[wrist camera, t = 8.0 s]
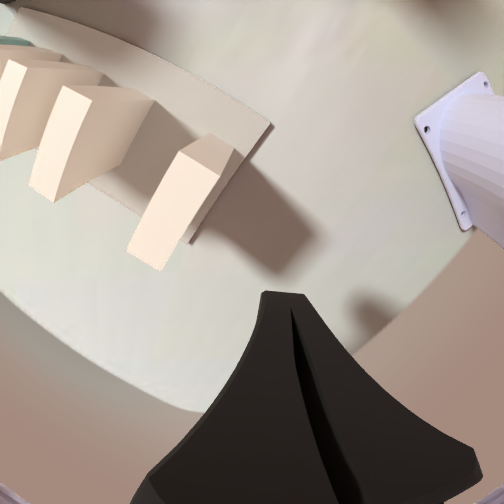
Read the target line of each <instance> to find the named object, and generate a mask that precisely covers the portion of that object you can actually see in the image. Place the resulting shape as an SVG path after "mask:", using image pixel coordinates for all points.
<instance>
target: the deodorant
mask: <svg viewBox="0 0 504 504" xmlns="http://www.w3.org/2000/svg"><path fill="white" fill-rule="evenodd" d="M13 1H15V0H0V3H3V4H8V3H11V2H13Z"/></svg>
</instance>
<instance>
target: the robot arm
mask: <svg viewBox="0 0 504 504" xmlns="http://www.w3.org/2000/svg"><path fill="white" fill-rule="evenodd" d="M484 83H485V86H484ZM414 121H415V126H416V128H417V130H418V132H419V134H420V135H421V137H422V139H423V141H424V143H425V145H426V147H427V149H428V151H429V153H430V155H431V157H432V159H433V161H434V163H435V166H436V168H437V170H438V172H439V174H440V177H441V179H442V181H443V184H444V186H445V188H446V191H447V193H448V196H449V198H450V201H451V203H452V206H453V209H454V211H455V214H456V217H457V220H458V222H459V225H460V227H461V229H463V230H467V229H469V228H470V227H471V226H472V225H474V226H475V227H477V228H478V229H479V230H481V231H482V232H483V233H485V234H486V235H487V236H489V237H490V238H491V239H492V240H494V241H495V242H496V243H497V244H499V245H500V246H501V247H502V248H503V249H504V96H499V95H494V92H493V90H492V88H491V85H490V83H489V81H488V79H487V77H486V75H485V74H484V73H483V72H477V73H476V74H474V75H473V76H471V77H470V78H469V79H467V80H466V81H464V82H463V83H462V84H460V85H459V86H458V87H456V88H455V89H453V90H452V91H451V92H449V93H448V94H446V95H445V96H444V97H442V98H441V99H439V100H438V101H437V102H435V103H434V104H433V105H431V106H430V107H428V108H427V109H426V110H424V111H423V112H422V113H420V114H419V115H417V116H416V118H415V120H414ZM425 126H426V127H427V132H426V133H425V132H424V127H425ZM462 212H463V214H462V215H461V213H462ZM482 477H483V474H482V471H481V468H480V465H479V462H478V460H477V457H476V454H475V452H474V449H473V448H472V447H469V446H467V445H466V444H463V443H462V442H460V441H458V440H456V439H454V438H452V437H450V436H448V435H446V434H444V433H443V432H441V431H439V430H438V429H436V428H435V427H433V426H431V425H430V424H428V423H427V422H425V421H424V420H422V419H421V418H419V417H418V416H416V415H415V414H414V413H412V412H411V411H410V410H408V409H407V408H406V407H405V406H403V405H402V404H401V403H400V402H398V401H397V400H396V399H395V398H393V397H392V396H391V395H390V394H389V393H388V392H386V391H385V390H384V389H383V388H382V387H381V386H380V385H379V384H378V383H377V382H376V381H375V380H374V379H373V378H372V377H371V376H370V375H368V374H367V373H366V372H365V370H364V369H363V368H362V367H361V366H360V365H359V364H358V363H357V362H356V361H355V360H354V358H353V357H352V356H351V355H350V354H349V353H348V352H347V351H346V349H345V348H344V347H343V346H342V345H341V343H340V342H339V341H338V339H337V338H336V337H335V336H334V334H333V333H332V332H331V330H330V329H329V328H328V326H327V325H326V324H325V322H324V321H323V320H322V318H321V317H320V315H319V314H318V313H317V311H316V310H315V308H314V307H313V306H312V304H311V303H310V301H309V300H308V299H307V297H306V296H305V295H304V294H297V293H286V292H276V291H264V292H263V293H261V298H260V304H259V310H258V315H257V321H256V325H255V328H254V330H253V333H252V336H251V338H250V340H249V342H248V344H247V347H246V349H245V351H244V353H243V355H242V357H241V359H240V361H239V362H238V364H237V366H236V368H235V370H234V371H233V373H232V375H231V376H230V378H229V380H228V381H227V383H226V384H225V386H224V387H223V389H222V390H221V392H220V393H219V395H218V396H217V397H216V399H215V400H214V402H213V403H212V404H211V406H210V407H209V408H208V410H207V411H206V412H205V414H204V415H203V416H202V417H201V418H200V420H199V421H198V422H197V423H196V424H195V426H194V427H193V428H192V429H191V430H190V431H189V432H188V434H187V435H186V436H185V437H184V438H183V439H182V440H181V442H179V443H178V445H177V446H176V447H175V448H174V449H173V450H172V451H170V452H169V454H168V455H166V456H165V457H164V458H163V459H162V460H161V461H160V462H159V463H158V464H157V465H156V466H155V467H154V468H153V469H151V471H149V473H148V474H147V475H146V477H145V479H144V480H143V482H142V483H141V485H140V487H139V488H138V490H137V491H136V493H135V495H134V497H133V498H132V500H131V502H130V504H444V502H445V501H447V500H448V499H451V498H453V497H454V496H456V495H458V494H460V493H462V492H463V491H465V490H467V489H468V488H470V487H472V486H474V485H475V484H477V483H478V482H479V481H481V479H482ZM0 504H32V503H30V502H28V501H26V500H25V499H23V498H21V497H20V496H18V495H17V494H16V493H15V492H14V491H13V490H11V489H10V488H8V487H7V486H5V485H3V484H2V483H1V482H0ZM473 504H504V483H503V484H502V485H500V486H499V487H497V488H496V489H494V490H493V491H491V492H490V494H488V495H487V496H485V497H483V498H482V499H480V500H479V501H477V502H475V503H473Z"/></svg>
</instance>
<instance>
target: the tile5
mask: <svg viewBox="0 0 504 504" xmlns="http://www.w3.org/2000/svg"><path fill="white" fill-rule="evenodd" d="M29 43H30V41H28V40H25V39H22V38H19V37H9V36H0V44H2V45H19V46H29Z"/></svg>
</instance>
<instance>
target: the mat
mask: <svg viewBox="0 0 504 504" xmlns="http://www.w3.org/2000/svg"><path fill="white" fill-rule="evenodd" d="M5 36H9V37H19V38H22V39H25V40H28V41H30V43H29V46H30V47H39V48H47V49H51V50H53V51H56V52H58V53H60V54H63V55H62V57H61V59H60V61H59V62H65V63H74V64H81V65H87V66H89V67H91V68H93V69H96V70H98V71H100V72H102V73H104V75H103V76H102V78H101V80H100V82H99V84H98V86H107V87H121V88H133V89H135V90H137V91H139V92H141V93H143V94H145V95H147V96H148V97H150V98H152V99H154V100H155V102H154V103H153V105H152V107H151V108H150V110H149V112H148V114H147V115H146V117H145V119H144V121H143V122H142V124H141V126H140V128H139V130H138V131H137V133H136V135H135V137H134V139H133V141H132V143H131V145H130V147H129V149H128V151H127V153H126V155H125V157H124V159H123V161H122V163H121V165H119V166H117V167H115V168H113V169H111V170H109V171H107V172H105V173H103V174H102V175H100V176H98V177H96V178H94V179H93V180H91V181H89V182H87V183H89V184H90V185H92V186H93V187H95V188H96V189H98V190H100V191H101V192H103V193H104V194H106V195H107V196H109V197H111V198H112V199H114V200H115V201H117V202H119V203H120V204H122V205H123V206H125V207H127V208H128V209H130V210H131V211H133V212H135V213H136V214H138V215H139V216H141V217H142V216H143V214H144V212H145V210H146V208H147V207H148V205H149V203H150V201H151V199H152V197H153V195H154V193H155V192H156V190H157V188H158V186H159V184H160V182H161V181H162V179H163V177H164V175H165V174H166V172H167V170H168V168H169V167H170V165H171V163H172V161H173V160H174V158H175V156H176V155H177V153H178V151H179V150H181V149H183V148H184V147H186V146H188V145H189V144H191V143H193V142H194V141H196V140H198V139H200V138H201V137H203V136H205V135H207V134H209V133H212V134H213V135H215V136H216V137H218V138H220V139H221V140H223V141H224V142H226V143H228V144H229V145H231V146H232V147H234V149H233V151H232V153H231V155H230V157H229V159H228V161H227V163H226V166H225V168H224V170H223V172H222V174H221V176H220V177H219V179H218V180H217V182H216V183H215V185H214V186H213V188H212V189H211V191H210V193H209V194H208V196H207V197H206V199H205V200H204V202H203V203H202V205H201V206H200V208H199V209H198V211H197V213H196V214H195V216H194V217H193V219H192V221H191V222H190V224H189V225H188V227H187V229H186V230H185V232H184V233H183V235H182V237H181V238H180V240H181V241H182V242H184V243H186V244H188V242H189V241H190V239H191V237H192V236H193V234H194V233H195V231H196V230H197V228H198V227H199V225H200V224H201V222H202V220H203V219H204V217H205V216H206V214H207V213H208V211H209V210H210V208H211V207H212V205H213V204H214V202H215V201H216V199H217V198H218V196H219V195H220V193H221V192H222V190H223V189H224V188H225V186H226V185H227V183H228V182H229V180H230V179H231V177H232V176H233V174H234V173H235V172H236V170H237V169H238V167H239V166H240V164H241V163H242V162H243V160H244V159H245V157H246V156H247V155H248V153H249V152H250V150H251V149H252V148H253V146H254V145H255V144H256V142H257V141H258V139H259V138H260V137H261V135H262V134H263V133H264V131H265V130H266V129H267V127H268V126H269V125H270V123H271V122H269V121H268V120H266V119H265V118H263V117H262V116H260V115H259V114H257V113H256V112H254V111H253V110H251V109H249V108H248V107H246V106H245V105H243V104H242V103H240V102H239V101H237V100H235V99H234V98H232V97H230V96H229V95H227V94H226V93H224V92H222V91H221V90H219V89H217V88H215V87H214V86H212V85H210V84H209V83H207V82H205V81H203V80H202V79H200V78H198V77H196V76H194V75H193V74H191V73H189V72H187V71H185V70H183V69H181V68H180V67H178V66H176V65H174V64H172V63H170V62H168V61H166V60H164V59H162V58H160V57H158V56H156V55H154V54H152V53H150V52H147V51H145V50H143V49H141V48H139V47H137V46H134V45H132V44H130V43H128V42H125V41H123V40H121V39H118V38H116V37H113V36H111V35H108V34H106V33H103V32H101V31H98V30H96V29H93V28H90V27H87V26H85V25H82V24H79V23H76V22H73V21H70V20H67V19H64V18H61V17H57V16H54V15H51V14H47V13H43V12H40V11H36V10H32V9H28V8H24V7H20V8H19V10H18V12H17V14H16V15H15V17H14V19H13V21H12V23H11V25H10V27H9V29H8V31H7V33H6V35H5ZM35 149H36V150H38V149H39V147H37V148H35Z"/></svg>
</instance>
